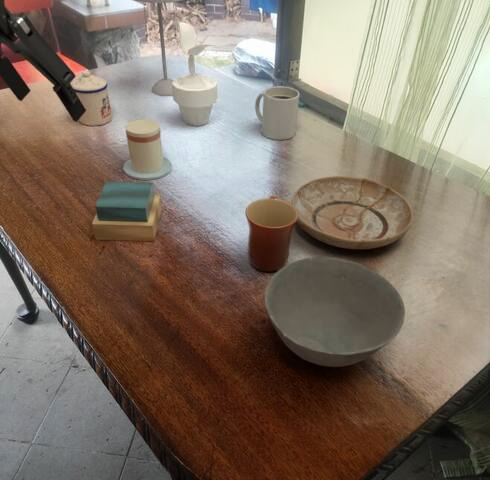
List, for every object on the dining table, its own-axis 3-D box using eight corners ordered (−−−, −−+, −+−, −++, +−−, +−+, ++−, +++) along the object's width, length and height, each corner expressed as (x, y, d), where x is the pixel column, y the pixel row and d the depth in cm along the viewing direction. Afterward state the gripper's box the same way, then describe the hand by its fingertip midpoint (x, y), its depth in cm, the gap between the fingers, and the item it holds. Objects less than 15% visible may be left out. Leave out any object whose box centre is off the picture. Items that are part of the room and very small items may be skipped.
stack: (108, 207, 92) (101, 178, 88) (162, 209, 92) (158, 180, 88) (95, 239, 85) (87, 209, 80) (154, 241, 85) (150, 211, 80)
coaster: (117, 161, 105) (117, 159, 105) (162, 153, 109) (162, 151, 109) (131, 184, 99) (131, 181, 98) (178, 174, 102) (178, 172, 102)
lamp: (204, 85, 141) (199, -53, 116) (179, 104, 130) (168, -43, 105) (155, 76, 144) (140, -59, 120) (127, 94, 133) (105, -50, 109)
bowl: (236, 362, 66) (238, 314, 58) (296, 289, 77) (303, 241, 70) (357, 423, 59) (375, 377, 52) (402, 334, 71) (422, 286, 63)
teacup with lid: (110, 126, 118) (101, 78, 110) (75, 126, 118) (63, 78, 109) (116, 108, 126) (109, 62, 118) (83, 108, 126) (73, 61, 117)
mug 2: (290, 279, 79) (297, 230, 71) (241, 274, 79) (242, 225, 72) (293, 238, 87) (299, 190, 79) (247, 235, 87) (249, 186, 80)
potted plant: (166, 120, 122) (155, 9, 104) (200, 109, 128) (195, 2, 110) (195, 136, 116) (189, 21, 98) (229, 124, 122) (230, 13, 103)
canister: (127, 161, 104) (120, 122, 98) (157, 155, 107) (153, 117, 100) (136, 176, 100) (130, 135, 94) (168, 169, 102) (164, 130, 96)
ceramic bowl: (429, 228, 91) (437, 207, 87) (359, 280, 79) (366, 258, 75) (337, 184, 102) (341, 162, 98) (264, 223, 90) (266, 201, 86)
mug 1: (299, 138, 117) (304, 98, 110) (264, 141, 115) (266, 100, 108) (286, 121, 124) (290, 82, 117) (253, 124, 122) (255, 84, 115)
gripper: (-114, -25, 63) (-10, 101, 82) (8, 10, 55) (91, 141, 74) (-78, -58, 65) (16, 73, 84) (46, -30, 56) (117, 108, 76)
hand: (51, 105), depth 79 cm, fingers open, 13 cm apart
